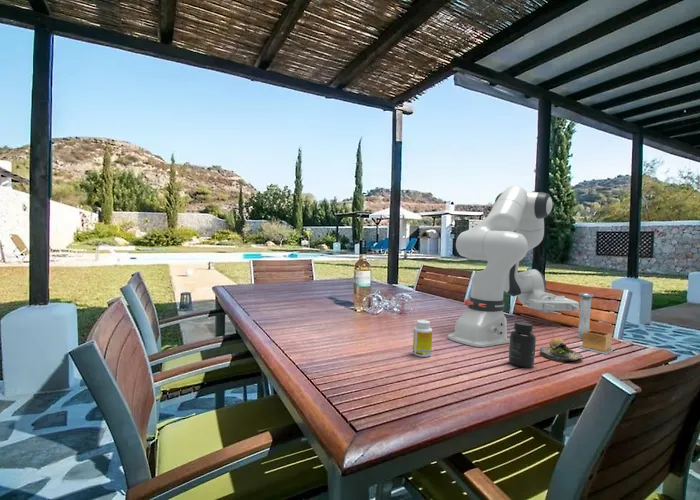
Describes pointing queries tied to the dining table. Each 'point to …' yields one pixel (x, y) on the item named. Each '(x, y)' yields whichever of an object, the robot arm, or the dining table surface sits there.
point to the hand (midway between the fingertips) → (565, 308)
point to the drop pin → (584, 313)
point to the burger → (559, 351)
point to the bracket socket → (597, 341)
